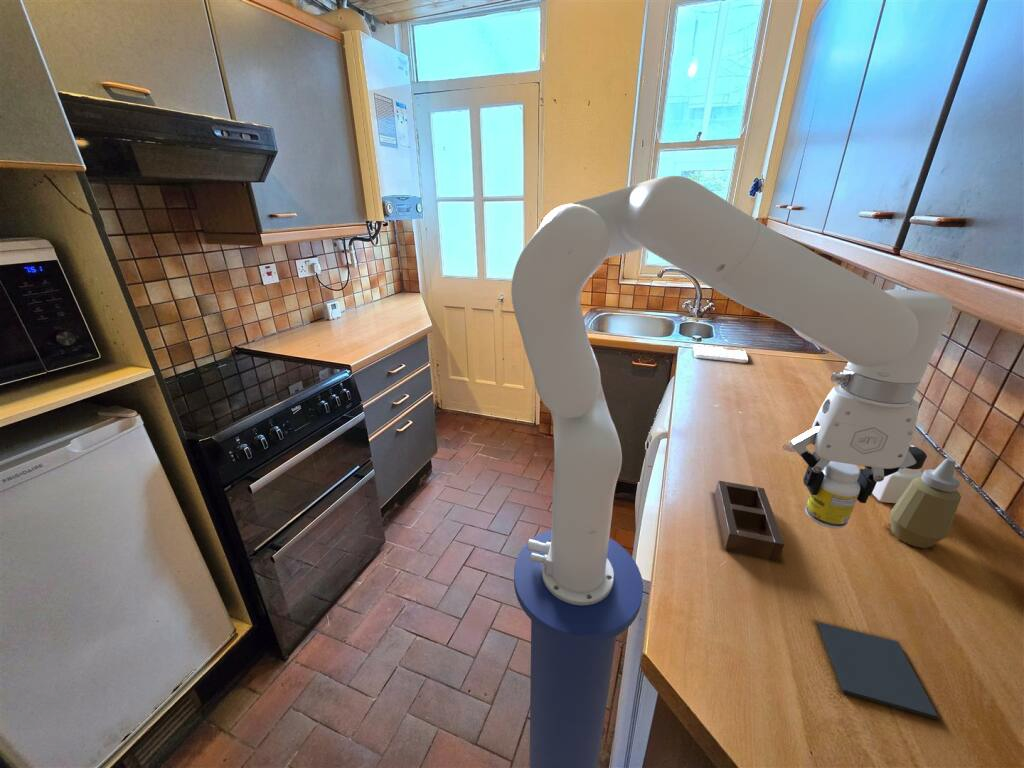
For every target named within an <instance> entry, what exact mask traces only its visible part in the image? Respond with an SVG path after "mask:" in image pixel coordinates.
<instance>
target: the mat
mask: <svg viewBox="0 0 1024 768" xmlns="http://www.w3.org/2000/svg"><path fill="white" fill-rule="evenodd" d="M817 627H818V629H819V632H820V635H821V638H822V640H823V643H824V646H825V649H826V651H827V654H828V656H829V659H830V662H831V664H832V667H833V669H834V673H835V675H836V677H837V681H838V683H839V686H840V688H841V691H842V693H843V694H846V695H850V696H854V697H856V698H860V699H864V700H868V701H871V702H875V703H878V704H882V705H884V706H888V707H892V708H896V709H899V710H902V711H907V712H909V713H913V714H917V715H920V716H923V717H926V718H930V719H934V720H937V719H938V718H939V715H938V714H937V711H936V710H935V707H934V706H933V704H932V702H931V700H930V699H929V696H928V694H927V693H926V691H925V689H924V687H923V686H922V683H921V681H920V680H919V678H918V676H917V674H916V673H915V671H914V669H913V667H912V665H911V663H910V661H909V660H908V658H907V655H906V654H905V652H904V650H903V649H902V647H901V645H900V643H899V641H896V640H893V639H888V638H884V637H880V636H877V635H872V634H868V633H864V632H859V631H856V630H852V629H848V628H843V627H839V626H836V625H832V624H828V623H824V622H817Z"/></svg>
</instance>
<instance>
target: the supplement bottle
mask: <svg viewBox="0 0 1024 768" xmlns="http://www.w3.org/2000/svg"><path fill="white" fill-rule="evenodd" d="M860 469H861V468H859V467H858V465H854V464H847V463H840V462H834V461H830V462H829V464H828V465H827V466H826V467H825V468H824V469H823V470H822V472H823V473H824V479H823V481H822V484H821V487H820V489H819V492H818V494H817V495H811V494H810V493H809V496H808V499H807V501H806V504H805V513H806V515H807V517H809V519H810V520H812V521H813V522H815V523H816V524H817V525H820V526H821V527H824V528H829V529H842V528H845V527H846V526H847V524H848V523H849V521H850V518H851V515H852V512H853V510H854V507H855V505H856V503H857V501H858V500H857V497H858V495H859V492H860V489H861V488H860V484H859V482H858V481H857V480H858V477H859V475H860Z"/></svg>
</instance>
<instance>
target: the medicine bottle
mask: <svg viewBox="0 0 1024 768" xmlns="http://www.w3.org/2000/svg"><path fill="white" fill-rule="evenodd" d="M908 450H909V451H910V453H911V454H912V456H913V457H914V459H915V460H916V464H914V465H912V466H909V467H906V468H903V469H899V470H898V471H897V472H896V473H893V474H891V475H888V476H886V477H884V480H883V481H881V482H877V483H876V485H875V488H874V490H873V492H872V494H871V495H873V496H874V497H875V498H876V499H877V501H878V502H879V503H885V504H886V503H887V504H889V503H890V504H896V503H897V501H898V500H899V498H900V497H901V496H902V494H903V493H904V491H905V490H906V488H907V487H908V485H909V484H910V483H911V481H912V480H913V479H914V478H919V477H922V475H923V473H924V472H923V471H921V470H922V469H923V466H924V464H925V462H926V460H927V458H928V456H927V453H926V452H925V451H924V450H922V449H921V448H919V447H917V446H915V445H913V444H910V447H909V449H908Z"/></svg>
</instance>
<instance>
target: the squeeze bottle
mask: <svg viewBox="0 0 1024 768" xmlns="http://www.w3.org/2000/svg"><path fill="white" fill-rule="evenodd" d="M956 461H957V460H956V459H954V458H951V457H946V458H945V459H944V460H943V461H942V462H941V463H940V464H939V465H938V466H937V467H936V468H935V469H933V468H927V469H925V470H924V471H923V472H922V473H923V475H922V477H919V478H914V479H913V480H912V481H911V483H910V484H909V485H908V487H907V488H906V490H905V491H904V493H903V494H902V496H901V497H900V498H899V500H898V501H897V503H894V506H893V507H892V508H891V510H890V512H889V515H890V516H889V517H890V518H889V519H890V520H889V521H890V531H891V533H892V534H893V535H894V537H896V538H897V539H899V540H900V541H902V542H904V543H906V544H908V545H909V546H914V547H916V548H921V549H922V548H923V549H927V548H931V547H933V546H934V545H936V544H937V543H938V542H939V543H940V542H941V541H942V540H943V539H945V538H946V537H947V536H948V534H949V533H950V529H951V526H952V523H953V521H954V518H955V516H956V513H957V511H958V507H959V504H960V502H961V499H962V495H961V493H960V492H959V491H958V488H959V486H960V484H961V481H960V479H958V478H957V477H956V476H955V474H954V473H955V470H956V469H955V468H956V463H957V462H956Z"/></svg>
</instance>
